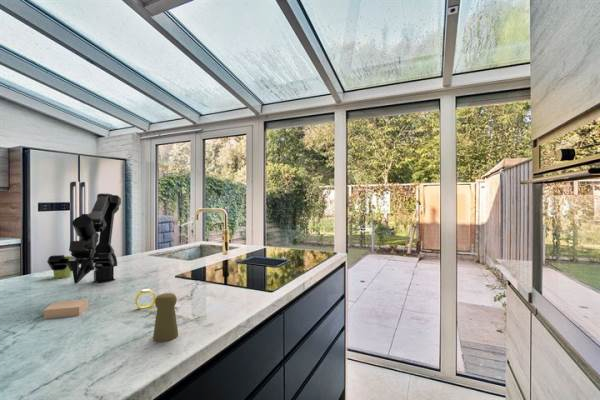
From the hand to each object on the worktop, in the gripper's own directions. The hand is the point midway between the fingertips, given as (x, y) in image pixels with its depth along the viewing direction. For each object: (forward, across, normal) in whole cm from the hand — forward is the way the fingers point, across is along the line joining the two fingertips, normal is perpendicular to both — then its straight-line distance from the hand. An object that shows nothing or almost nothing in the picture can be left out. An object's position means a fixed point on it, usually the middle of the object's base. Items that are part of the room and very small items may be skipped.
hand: (75, 282), depth 103 cm
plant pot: (-26, -20, +38) cm, 51 cm away
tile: (+7, 0, +2) cm, 7 cm away
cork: (+30, +31, -20) cm, 48 cm away
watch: (+12, +23, -2) cm, 26 cm away
